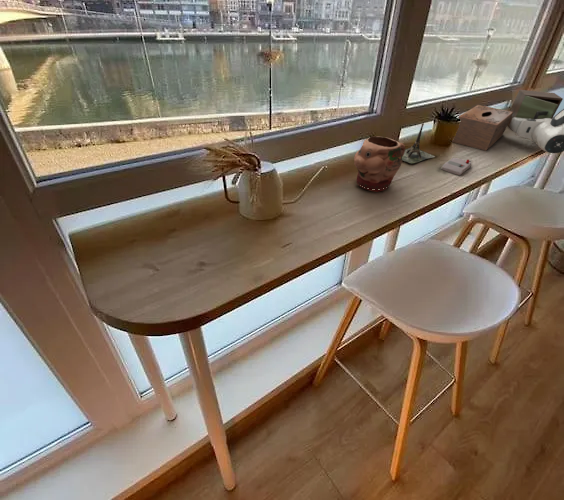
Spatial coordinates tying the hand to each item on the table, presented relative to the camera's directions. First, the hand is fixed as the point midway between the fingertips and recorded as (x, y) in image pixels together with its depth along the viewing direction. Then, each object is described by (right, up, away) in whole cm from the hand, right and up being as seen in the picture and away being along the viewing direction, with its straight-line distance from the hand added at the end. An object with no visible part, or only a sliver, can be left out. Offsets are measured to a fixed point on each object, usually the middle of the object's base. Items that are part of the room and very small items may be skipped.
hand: (533, 120), depth 137 cm
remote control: (-45, -26, -22) cm, 56 cm away
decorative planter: (-77, -34, -34) cm, 91 cm away
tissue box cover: (-22, -6, +3) cm, 23 cm away
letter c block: (0, -3, +9) cm, 9 cm away
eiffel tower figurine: (-58, -20, -15) cm, 63 cm away
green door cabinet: (+9, +4, +18) cm, 21 cm away
